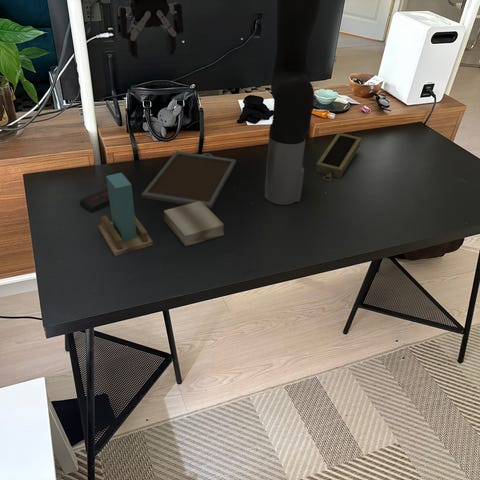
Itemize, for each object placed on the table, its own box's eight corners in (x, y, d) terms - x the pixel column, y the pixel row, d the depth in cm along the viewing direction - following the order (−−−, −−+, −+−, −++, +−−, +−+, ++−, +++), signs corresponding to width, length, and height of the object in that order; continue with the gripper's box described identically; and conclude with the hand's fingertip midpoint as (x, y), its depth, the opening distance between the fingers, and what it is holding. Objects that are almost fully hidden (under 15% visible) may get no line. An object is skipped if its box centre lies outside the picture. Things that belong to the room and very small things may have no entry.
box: (360, 150, 153) (362, 136, 150) (337, 191, 139) (339, 177, 135) (335, 145, 156) (336, 131, 152) (310, 184, 142) (311, 170, 138)
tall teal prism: (127, 224, 115) (121, 172, 107) (137, 237, 111) (131, 184, 103) (113, 228, 113) (106, 176, 105) (122, 242, 109) (115, 188, 101)
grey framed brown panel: (141, 194, 127) (178, 147, 151) (141, 199, 128) (179, 152, 152) (211, 205, 124) (238, 155, 147) (211, 210, 125) (238, 160, 148)
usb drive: (80, 206, 123) (78, 197, 122) (119, 190, 131) (118, 181, 129) (91, 215, 121) (90, 205, 119) (131, 198, 128) (130, 188, 126)
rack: (134, 219, 119) (133, 207, 117) (153, 244, 111) (152, 232, 109) (98, 228, 115) (96, 216, 113) (115, 256, 107) (113, 243, 105)
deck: (200, 210, 123) (200, 200, 121) (223, 234, 115) (223, 224, 113) (164, 220, 119) (163, 210, 117) (185, 246, 111) (185, 235, 109)
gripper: (119, -23, 93) (128, 63, 102) (187, -26, 99) (189, 56, 108) (107, -28, 98) (116, 54, 107) (171, -31, 104) (175, 48, 113)
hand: (153, 55), depth 108 cm, fingers open, 8 cm apart
